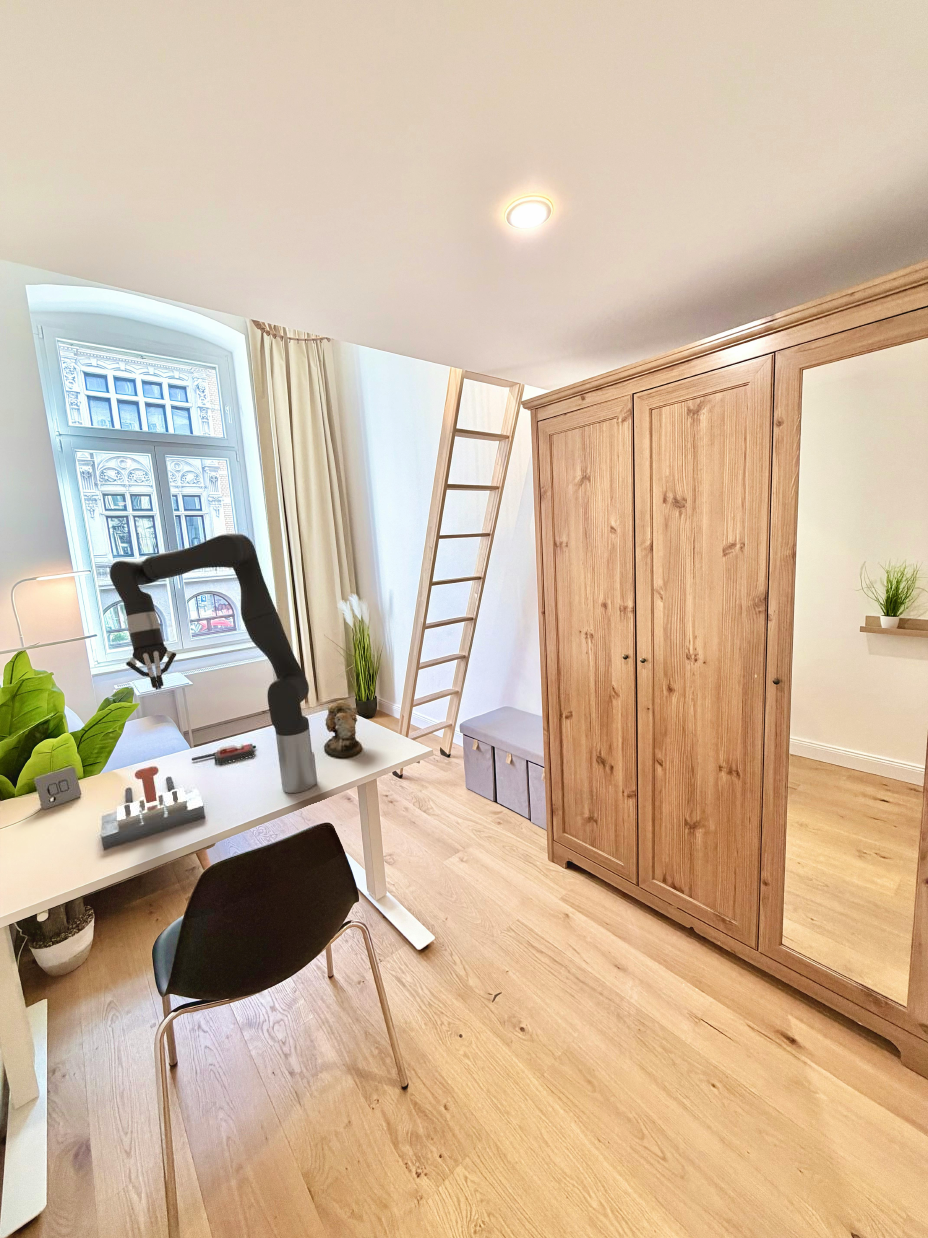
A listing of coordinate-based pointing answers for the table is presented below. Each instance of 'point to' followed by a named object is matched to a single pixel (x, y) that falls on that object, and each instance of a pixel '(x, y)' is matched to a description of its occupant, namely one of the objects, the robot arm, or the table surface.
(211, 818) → the table surface
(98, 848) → the table surface
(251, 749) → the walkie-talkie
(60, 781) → the electrical switch
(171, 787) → the grey upright pegs
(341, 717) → the brown figurine
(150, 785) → the breaker lever
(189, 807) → the breaker panel
